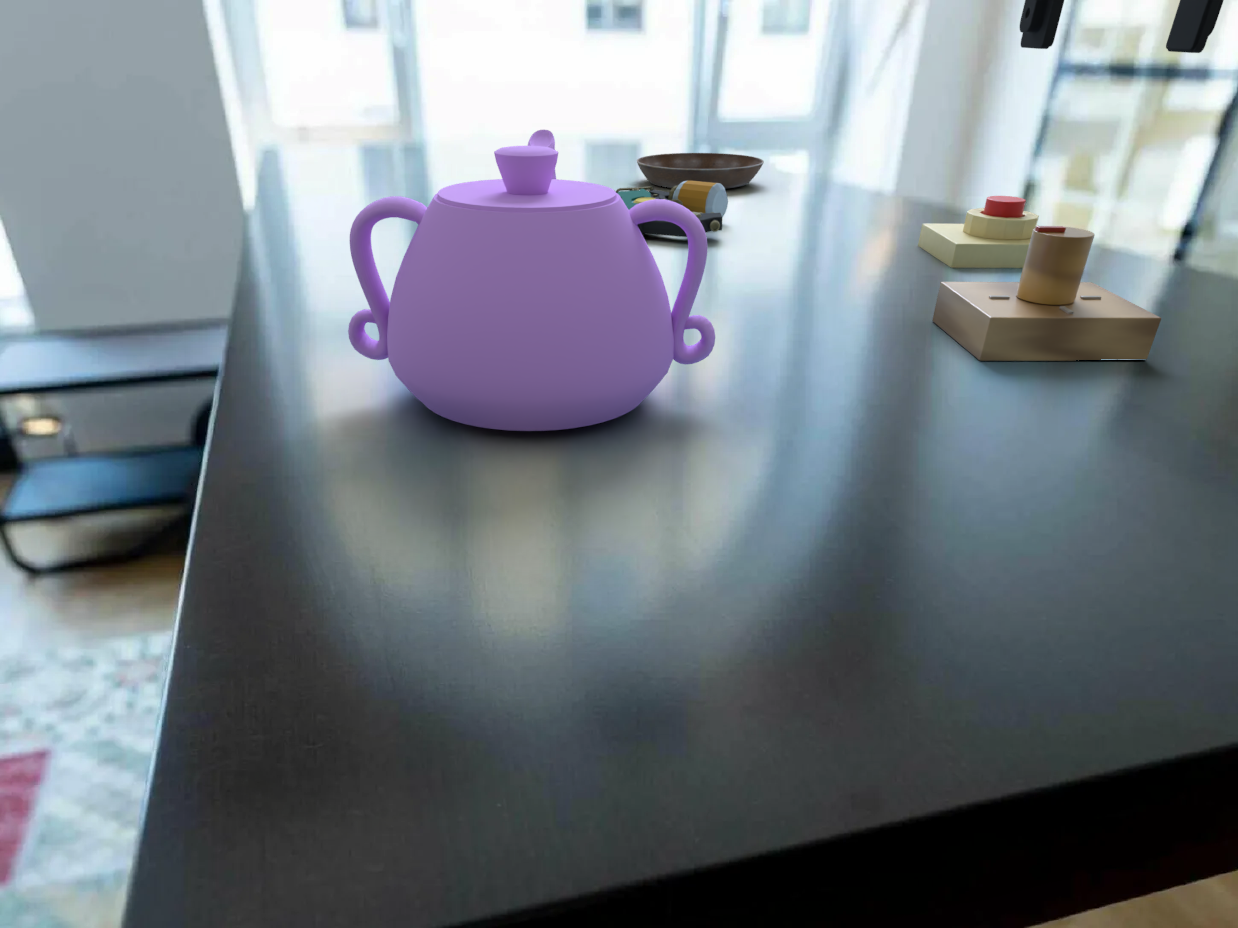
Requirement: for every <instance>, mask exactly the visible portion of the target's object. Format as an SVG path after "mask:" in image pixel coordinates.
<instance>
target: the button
mask: <svg viewBox="0 0 1238 928" xmlns="http://www.w3.org/2000/svg"><path fill="white" fill-rule="evenodd" d="M1026 203H1027V200H1026V198H1023V197H1018V196H1011V195H991V196H987V197H986V199H985V203H984V207H983V208H984V212H983V214H984V215H989V216H994V217H1004V218H1019V217H1022V215H1023V211H1025V206H1026Z"/></svg>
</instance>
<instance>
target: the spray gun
mask: <svg viewBox="0 0 1238 928" xmlns="http://www.w3.org/2000/svg"><path fill="white" fill-rule="evenodd" d="M648 190H649V191H648ZM615 192H616V193H617V194H619V195H620V197H621V199H622V200H623V202H624V203H625V205H626V206H627V208H628V210H630V209H631V208H632V207H634V206H635V205H636V204H639V203H642V202H644V201H648V200H654V199H665V200H669V201H673V202H676V203H678V204H680V205H682V206H684V207H686V208H687V209H689V210H690V211H691V212H692V213H693V214H695V216H696V217H697V218H698V219H699V220H700V222H701V224H702V225H703V228H704V230H705V233H709V232H713V233H717V232H719V231H722V230H723V218H724V216H725V214H726V213H727V209H728V205H729V198H728V194H727V191H726V189H725V188H724V186H723V185H722V184H720V183H711V182H700V181H684V182H682V183H680V184H679V185H678V186H674V187H673V188H670V191H669V192H668V191H665V190H664V191H663V190H658V189H654V187H653V186H638V187H637V186H636V187H620V188H617V189H616V190H615ZM637 226H638V228H639V230H640V231H641V233H642V235H643V236H644V235H647V234H648V235H657V236H660V235H661V236H670V237H671V236H672V237H683V238H687V235H686V233H685V231H684V230H683V229H682V228H681V227H680V226H678V225H676V224H674V223H672V222H668V221H662V220H655V221H649V222H644V223H640V224H638V225H637Z"/></svg>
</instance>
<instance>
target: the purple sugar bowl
mask: <svg viewBox="0 0 1238 928" xmlns="http://www.w3.org/2000/svg"><path fill="white" fill-rule="evenodd" d="M493 154H494V159H495V163H496V166H497V168H498V171H499V173H500V177H501V178H496V179H483V180H481V179H480V180H472V181H466V182H459V183H454V184H451V185H448V186H444V187H443V188H440V189H438V191H437V192H436V194H434V195H433V197H432V199H431V201H430V202H429V204H428V205H425V204H424V203H422V202H421V201H417V200H415V199H413V198H410V197H406V196H401V195H398V196H397V195H393V196H391V195H390V196H386V197H381V198H380V199H377V200H374V201H372V202H371V203H369V204H368V205H366V206H365V207H364V208H363V209H362V210H360V211H359V212H358V214H357V215H356V216H355V218H354V219H353V222H352V223H351V227H350V231H349V251H350V256H351V260H352V264H353V267H354V271H355V274H356V277H357V278H358V282H359V285H360V287H361V289H362V293H363V295H364V297H365V299H366V302H367V305H368V306H369V308H364V309H361V310H358V311H357V312H356V313H355V314H354V315H352V316H351V318H350V322H349V323H348V330H347V332H348V339H349V342H350V344H351V346H352V347H353V349H354V350H355V351H356V352H357V353H359V354H360V355H362V356H363V357H366V358H367V359H370V360H375V361H382V360H383V361H384V360H386V359H387V360H388V363H389V365H390V367H391V369H392V371H393V373H394V375H395V376H396V378H397V379H398V380H399V382H401V383H402V384H403V386H405V388H406V389H407V390H408V391H409V392H410V393H411V394H412V395H413V396H414V397H415V398H416V399H417V400H418V401H419V402H420V403H422V404H423V405H424V406H425V407H426V408H427V409H428V410H429V411H431V412H433V413H434V414H436V415H438V416H441V417H442V418H445V419H448V420H449V421H453V422H456V423H459V424H463V425H466V426H467V425H468V426H472V427H477V428H483V429H490V430H491V429H492V430H500V431H501V430H502V431H513V432H514V431H516V432H546V431H547V432H548V431H561V430H569V429H577V428H582V427H589V426H593V425H597V424H600V423H604V422H608V421H611V420H614V419H617V418H620V417H623V416H624V415H626V414H628V413H629V412H631V411H633V410H634V409H636V408H637V407H639V405H641V404H642V402H643V401H644V400H645V399H646V398H647V397H648V396H649V395H650V394H651V393H652V392H653V390H655V388H656V387H658V385H659V384H660V383H661V381H663V379H664V378H665V376H666V375H667V374H668V373H669V370H670V368H671V366H672V363H673V361H675V362H676V363H678V364H681V365H693V364H697V363H699V362H701V361H704V360H705V359H706V358H708V357H709V356H710V354H711V353H712V352H713V349H714V347H715V343H716V332H715V328H714V325H713V324H712V322H711V320H709V319H708V318H707V317H706V316H704V315H701V314H693V315H690V314H691V311H692V309H693V306H694V304H695V300H696V298H697V295H698V292H699V290H700V286H701V283H702V279H703V277H704V273H705V269H706V263H707V259H708V238H707V234H706V233H707V232H706V233H705V230H704V228H703V225H702V224H701V222H700V220H699V219H698V218H697V217H696V216H695V214H693V213H692V212H691V211H690V210H689V209H687V208H686V207H684V206H682V205H680V204H678V203H676V202H673V201H669V200H665V199H654V200H648V201H644V202H642V203H639V204H636V205H635V206H634V207H632V208H631V209H630V210H628V208H627V206H626V205H625V203H624V202H623V200H622V199H621V197H620V195H619V194H617V193H616V190H614V189H613V188H612V187H609V186H606V185H603V184H599V183H593V182H587V181H580V180H570V179H557V173H556V166H557V163H558V158H559V150H556V140H555V135H554V133H553V132H552V131H551V130H549V129H539V130H536V131H535V132H533V133H532V134H531V135H530V138H529V139H528V142H527V145H511V146H509V145H508V146H502V147H500V148H498V149H496V150H494V152H493ZM390 218H399V219H401V220H407V221H411V222H414V223H416V224H417V227H416V229H415V231H414V234H413V235H412V238H411V239H410V242H409V244H408V246H407V249H406V251H405V253H404V255H403V256H402V257H403V258H402V261H401V263H400V265H399V268H398V271H397V273H396V276H395V280H394V284H393V289H392V291H391V295H390V298H389V296H388V294H387V292H386V291H387V290H386V289H385V286H384V284H383V281H382V278H381V276H380V273H379V270H378V267H377V264H376V261H375V257H374V253H373V247H372V231H373V228H374V226H375V225H376V224H377V223H378V222H380V221H382V220H385V219H390ZM655 220H662V221H668V222H672V223H674V224H676V225H678V226H680V227H681V228H682V229H683V230H684V231H685V233H686V235H687V237H686V238H687V245H688V247H687V248H688V250H687V251H688V252H687V259H686V264H685V269H684V274H683V278H682V281H681V284H680V287H679V290H678V292H677V296H676V298H675V301H674V303H673V306H672V309H671V305H670V299H669V296H668V292H667V289H666V286H665V282H664V278H663V276H662V274H661V271H660V268H659V266H658V264H657V262H656V259H655V256H654V254H653V252H652V251H651V249H650V247H649V245H648V243H647V241H646V239H645V237H644V235H642V233H641V231H640V230H639V228H638V226H637V225H638V224H640V223H644V222H649V221H655ZM367 323H370V324H374V325H376V327H377V331H378V340H377V339H374V338H372V337H370V335H369V334H368V333H367V332H366V324H367ZM693 329H694V330H697V331H699V333H700V339H699V341H698V342H695V344H690V345H688V344H686V343H685V340H684V337H685V336H684V334H685V330H693Z"/></svg>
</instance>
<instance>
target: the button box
mask: <svg viewBox="0 0 1238 928" xmlns="http://www.w3.org/2000/svg"><path fill="white" fill-rule="evenodd" d="M984 208H985V207H978V208H977V207H976V208H970V209H969V210H968V211H967V212H966V213H965V214H966V215H965V218H964V222H963V223H928V222H927V223H926V222H925V223H922V224H921V227H920V231H919V232H920V233H919V239H918V243H917V247H919V248H920V249H922V250H924V251H925V252H926V253H928V254H929V255H931V256H932V257H934V258H936V259H937V260H938V261H940V262H942V263H943V264H945V265H946V266H947V267H949V268H950V269H1023V266H1024V262H1025V258H1026V255H1027V251H1028V247H1029V243H1030V240H1031V236H1032V232H1033V229H1034V228H1036V226H1039V225H1038V222H1039V217H1040V215H1038V214H1037V213H1034V212H1030V211H1026V210H1024V211H1023V215H1022V217H1019V218H1004V217H994V216H989V215H984V214H983V212H984Z"/></svg>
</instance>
